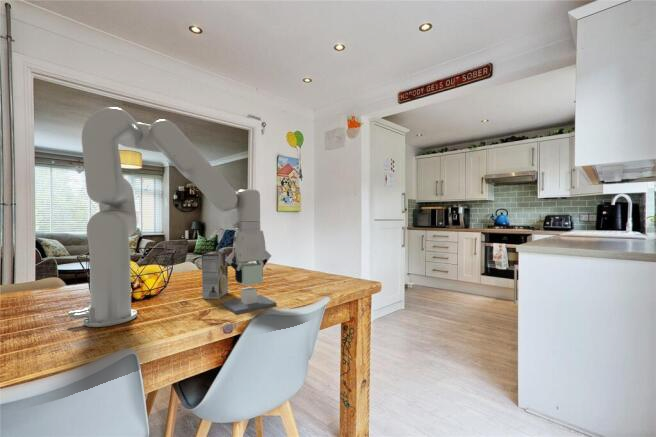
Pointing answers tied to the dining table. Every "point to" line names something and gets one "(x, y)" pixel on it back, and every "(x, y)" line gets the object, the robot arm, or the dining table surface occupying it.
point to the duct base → (248, 307)
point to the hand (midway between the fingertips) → (249, 280)
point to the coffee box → (214, 275)
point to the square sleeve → (251, 274)
